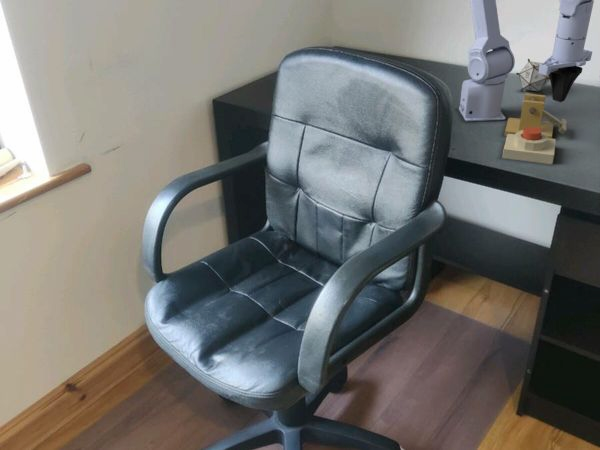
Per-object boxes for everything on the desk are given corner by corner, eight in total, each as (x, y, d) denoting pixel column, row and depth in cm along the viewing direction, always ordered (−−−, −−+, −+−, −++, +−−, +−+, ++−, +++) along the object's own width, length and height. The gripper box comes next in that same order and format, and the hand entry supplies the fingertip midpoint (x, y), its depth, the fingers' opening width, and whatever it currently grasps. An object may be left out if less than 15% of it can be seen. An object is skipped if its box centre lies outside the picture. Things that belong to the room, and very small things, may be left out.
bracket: (552, 127, 143) (559, 94, 139) (551, 141, 137) (557, 107, 132) (508, 122, 146) (512, 89, 142) (504, 135, 140) (509, 102, 136)
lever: (561, 126, 141) (569, 118, 139) (560, 136, 137) (568, 128, 135) (525, 102, 141) (532, 93, 139) (523, 111, 137) (530, 102, 135)
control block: (554, 148, 134) (557, 131, 132) (552, 164, 128) (555, 147, 125) (506, 142, 137) (508, 125, 135) (502, 158, 131) (504, 141, 129)
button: (540, 135, 131) (542, 127, 130) (539, 142, 128) (541, 134, 127) (522, 133, 132) (524, 125, 131) (521, 140, 130) (522, 132, 129)
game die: (535, 103, 164) (564, 73, 160) (529, 102, 157) (559, 71, 153) (511, 81, 167) (539, 51, 162) (503, 79, 160) (532, 48, 155)
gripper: (565, 47, 118) (552, 114, 125) (610, 33, 125) (596, 97, 132) (534, 39, 123) (524, 104, 130) (579, 26, 130) (567, 88, 137)
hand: (558, 100), depth 131 cm, fingers closed
